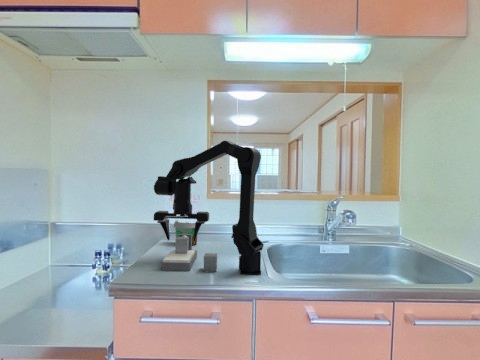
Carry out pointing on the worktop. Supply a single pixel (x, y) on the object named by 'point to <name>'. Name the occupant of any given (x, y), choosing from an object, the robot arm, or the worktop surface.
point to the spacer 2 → (210, 262)
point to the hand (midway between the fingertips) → (181, 240)
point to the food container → (185, 230)
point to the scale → (180, 258)
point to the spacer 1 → (181, 245)
